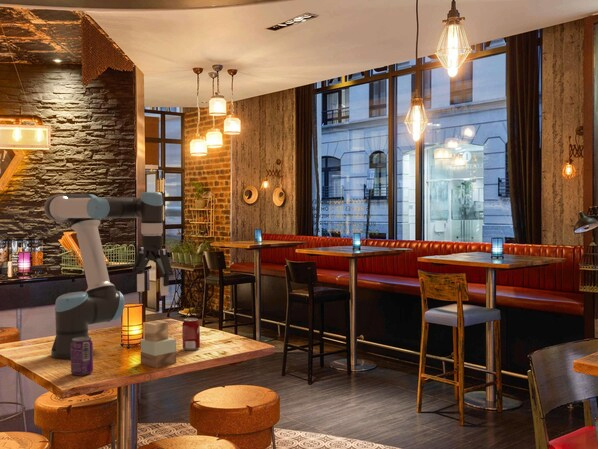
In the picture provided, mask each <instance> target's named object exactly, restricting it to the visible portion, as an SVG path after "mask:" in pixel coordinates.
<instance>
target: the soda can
mask: <svg viewBox="0 0 598 449" xmlns="http://www.w3.org/2000/svg"><path fill="white" fill-rule="evenodd" d="M181 326H182V327H181V328H182V329H181V330H182V338H181V339H182V350H185V351H188V352H191V351H193V352H194V351H198V349H200V348H201V337H200V336H201V335H200V334H201V330H200V328H201V325H200V322H199V319H198V318H197V317H187V318H184V319H183V322H182V325H181Z"/></svg>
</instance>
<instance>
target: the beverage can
mask: <svg viewBox="0 0 598 449" xmlns="http://www.w3.org/2000/svg"><path fill="white" fill-rule="evenodd" d="M93 344H94V343H93V341H92V337H90V336H89V337H76V338H73V339H72V343H71V359H70V373H71V374H73V375H75V376H86V374H87V375H89V374H91V373H92V372H93V371H94V345H93Z"/></svg>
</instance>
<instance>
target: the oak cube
mask: <svg viewBox="0 0 598 449" xmlns="http://www.w3.org/2000/svg"><path fill="white" fill-rule="evenodd" d="M143 325H144V326H143V327H144V329H143V330H144V339H145V340H150V341H154V342H156V341H160V340H165V339H168V337H169V322H168V321H164V320H153V321H148V322H144V324H143Z"/></svg>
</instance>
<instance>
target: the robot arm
mask: <svg viewBox="0 0 598 449" xmlns="http://www.w3.org/2000/svg"><path fill="white" fill-rule="evenodd" d="M163 207H164V202H163V194H162V193H161V192H158V191H155V192H154V191H151V192H150V191H149V192H148V191H147V192H146V191H144V192H142V193H141V195H140V197H135V196H133V197H132V196H131V197H107V196H106V197H102V196H96V195H95V194H92V193H90V194H89V193H57V194H54V195H51V196H50V197H48V198H47V199H46V200H45V202H44V205H43V211H44V214H45V216H46V217H47V218H48V219H49V220H51V221H53V222H56V223H66V224H67V223H69V224H70V228H71V230H73V231H74V232H76V237H77V241H78V247H79V251H80V256H81V260H82V266H83V270H84V271H83V272H84V275H85V278H86V283H87V289H86V290H85V291H75V292H74V291H73V292H67V293H64V294H61V295H59V296H58V297H57V298H56V300H55V306H54V311H55V314H54V315H55V336H54V341H53V343H52V346H51V351H50V352H51V355H50V356H51V358H53V359H58V360H59V359H60V360H61V359H62V360H71V343H72V339H73V338H76V337H90V335H89V325H94V324H100V323H101V324H102V323H105V322H106V323H109V322H112V321H116V320H119V319H120V318H121V317H122V315H123V312H124V311H123V309H124V310H125V297H124V295H123V293H122V292H121V291H120V290H119V291H118V290H117V289H116V286H115V284H113V283H112V282H110V281H111V280H110V276H109V272H108V267H107V263H106V259H105V254H104V250H103V245H102V241H101V236H100V231H99V226H101V221H102V220H103V219H141V220H140V221H141V222H140V223H141V225H140V227H141V228H140V230H141V233H140V234H142V235H141V237H140V238H141V240H140V241H141V244H140V245H141V246H142V247H137V254H136V256H135V260H134V263H133V267H132V272H133V273H134V274H136V293H139V292H145V270H146V267H147V265H148V264H149V262H150V261H151V262H153V263H155V265H156V266H157V269H158V271H159V272H160V274H161V276H160V296H161V297H163V296H169V285H170V284H169V283H170V282H169V281H170V277H171V276H173V275H174V272H173V269H172V266H171V262H170V259H169V257H168V256H169V255H168V249H167V248H161V247H162V246H163V245H164V240H163V239H164V238H163V235H162V234H163V232H164V231H163V228H164V227H163V221H164V220H163V219H164V216H163V214H164V208H163ZM123 307H124V308H123Z"/></svg>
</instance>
